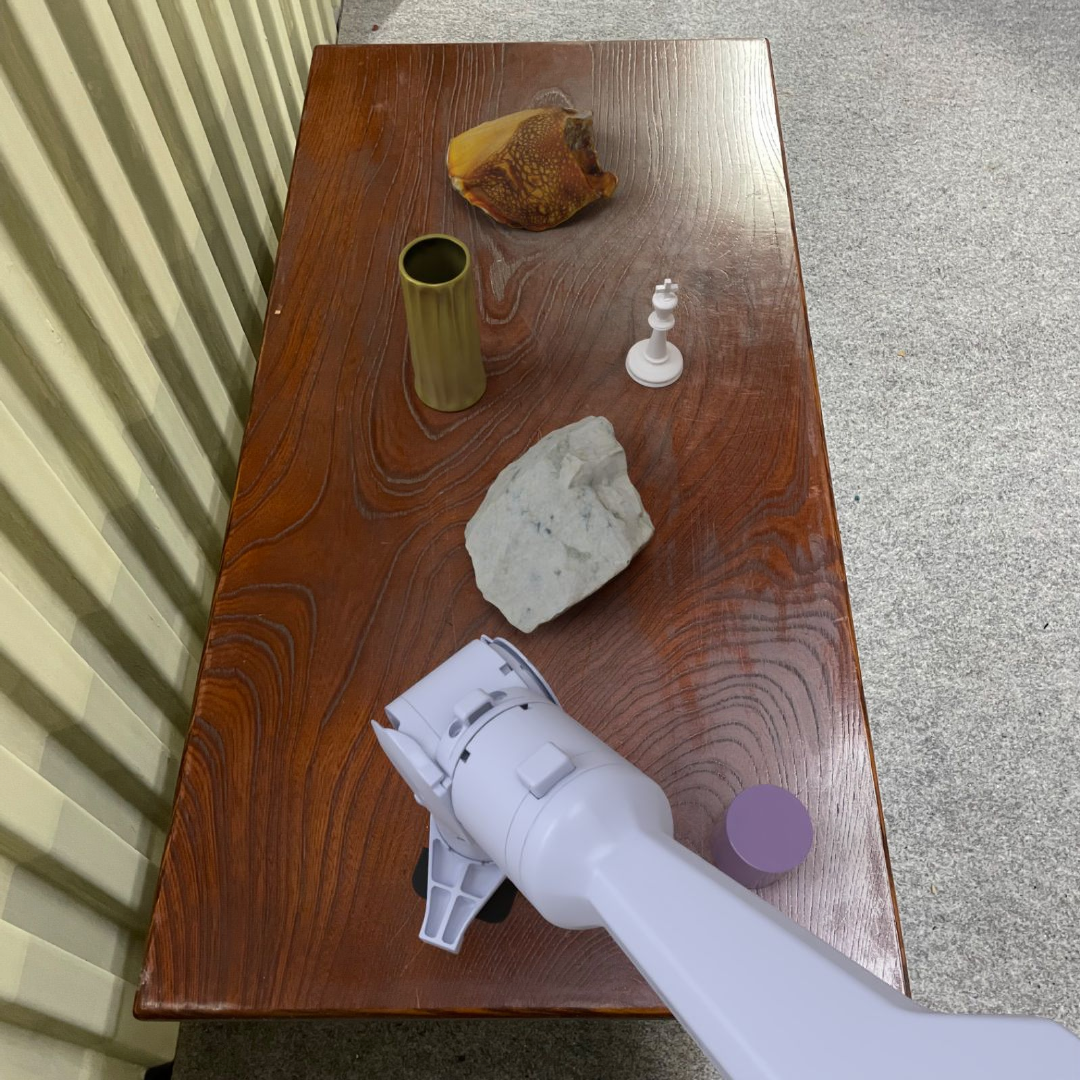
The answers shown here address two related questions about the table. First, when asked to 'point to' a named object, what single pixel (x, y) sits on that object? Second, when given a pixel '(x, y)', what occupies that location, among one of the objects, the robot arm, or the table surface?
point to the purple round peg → (761, 836)
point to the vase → (442, 322)
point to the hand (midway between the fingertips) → (494, 840)
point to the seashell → (530, 166)
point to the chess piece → (657, 344)
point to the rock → (557, 524)
